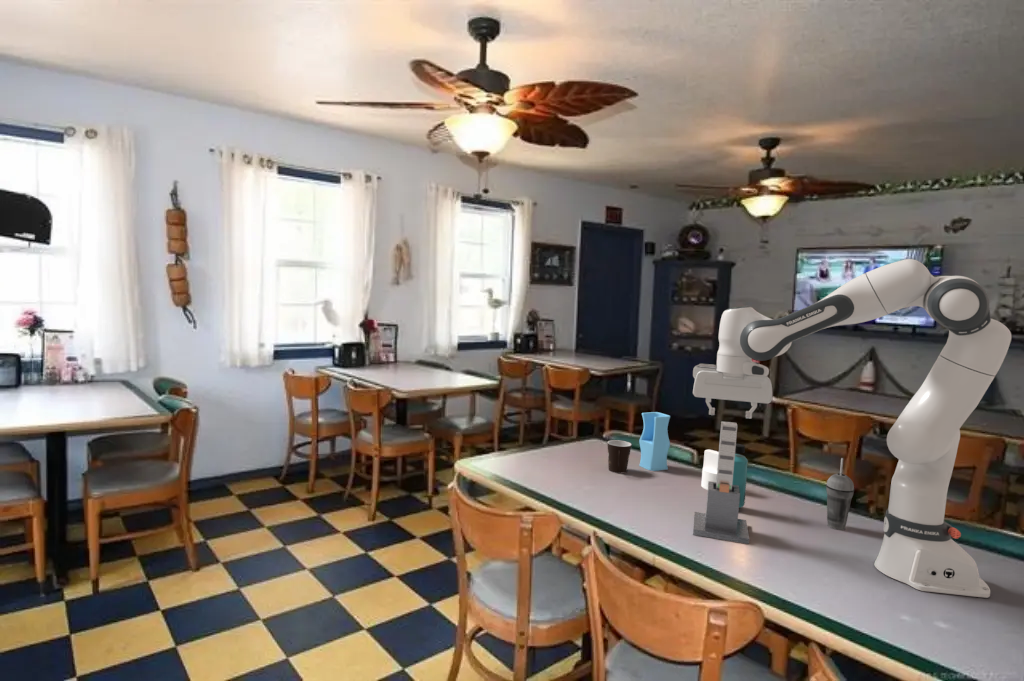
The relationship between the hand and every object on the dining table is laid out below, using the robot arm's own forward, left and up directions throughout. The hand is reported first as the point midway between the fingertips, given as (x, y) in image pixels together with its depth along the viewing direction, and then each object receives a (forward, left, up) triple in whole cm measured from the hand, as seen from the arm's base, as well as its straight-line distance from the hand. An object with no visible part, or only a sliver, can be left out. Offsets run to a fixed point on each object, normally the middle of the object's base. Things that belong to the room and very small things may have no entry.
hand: (729, 416), depth 161 cm
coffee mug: (+35, -41, -32) cm, 63 cm away
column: (0, 0, -24) cm, 24 cm away
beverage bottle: (-4, -20, -32) cm, 38 cm away
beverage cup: (-32, -18, -32) cm, 49 cm away
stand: (0, 0, -32) cm, 32 cm away
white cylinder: (+1, -39, -32) cm, 51 cm away
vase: (+23, -53, -32) cm, 66 cm away
